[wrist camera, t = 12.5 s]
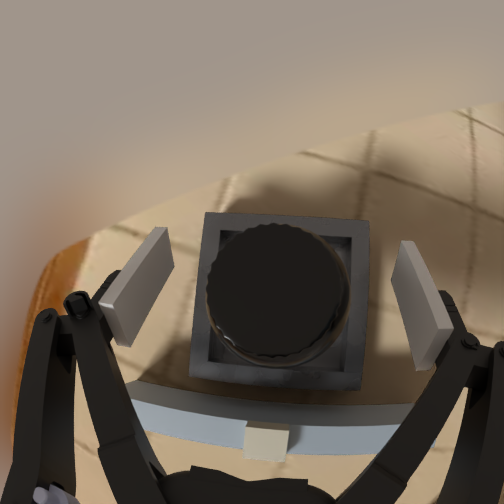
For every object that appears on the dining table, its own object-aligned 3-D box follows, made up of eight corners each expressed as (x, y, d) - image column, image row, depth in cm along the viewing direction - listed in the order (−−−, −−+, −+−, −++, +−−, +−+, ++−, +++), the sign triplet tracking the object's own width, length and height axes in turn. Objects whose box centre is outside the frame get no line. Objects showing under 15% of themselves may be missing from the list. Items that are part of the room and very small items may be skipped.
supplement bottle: (229, 263, 23) (171, 207, 12) (321, 249, 23) (351, 179, 11) (241, 356, 22) (189, 393, 10) (335, 343, 21) (385, 367, 9)
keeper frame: (361, 230, 23) (369, 220, 21) (352, 383, 21) (360, 390, 18) (213, 222, 24) (205, 212, 22) (198, 370, 22) (188, 376, 20)
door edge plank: (413, 402, 20) (448, 424, 14) (409, 426, 19) (441, 454, 13) (136, 379, 23) (94, 393, 17) (135, 402, 22) (94, 422, 16)
